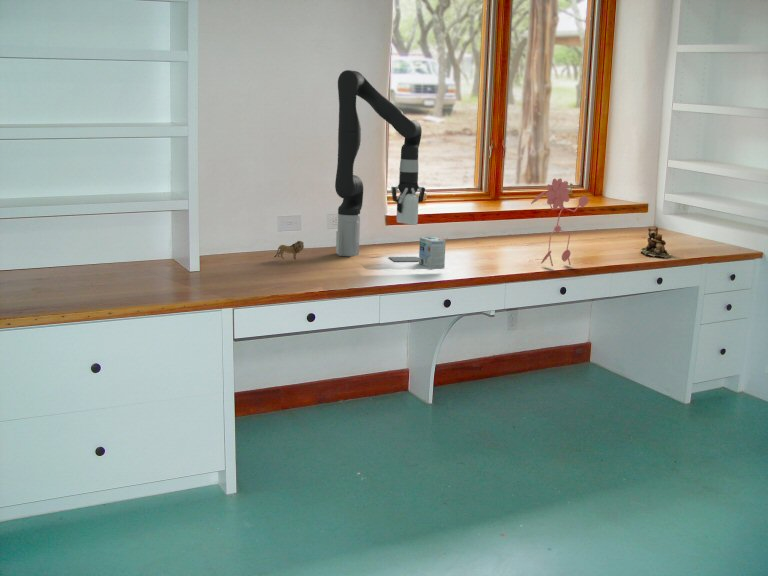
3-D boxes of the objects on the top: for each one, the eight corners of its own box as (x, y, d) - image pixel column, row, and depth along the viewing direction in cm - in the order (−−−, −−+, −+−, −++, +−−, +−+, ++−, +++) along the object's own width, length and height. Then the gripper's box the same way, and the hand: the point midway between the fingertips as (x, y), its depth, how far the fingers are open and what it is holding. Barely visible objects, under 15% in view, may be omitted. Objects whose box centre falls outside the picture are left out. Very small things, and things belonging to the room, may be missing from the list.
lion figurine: (303, 258, 365) (303, 240, 363) (303, 259, 361) (303, 241, 359) (274, 257, 364) (274, 239, 363) (273, 259, 360) (273, 241, 358)
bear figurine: (639, 256, 399) (641, 229, 397) (640, 251, 413) (642, 225, 411) (671, 259, 395) (674, 231, 393) (671, 254, 409) (674, 227, 407)
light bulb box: (418, 263, 361) (419, 236, 359) (433, 262, 364) (434, 236, 362) (429, 268, 352) (431, 240, 349) (445, 267, 354) (446, 240, 352)
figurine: (587, 264, 372) (594, 179, 365) (537, 267, 360) (543, 180, 353) (564, 258, 385) (570, 176, 378) (514, 261, 373) (520, 176, 366)
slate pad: (394, 261, 362) (394, 261, 362) (388, 257, 372) (388, 256, 372) (423, 261, 365) (423, 260, 365) (416, 257, 375) (416, 256, 375)
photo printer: (394, 222, 368) (395, 192, 366) (402, 221, 371) (403, 191, 368) (411, 225, 360) (412, 194, 358) (419, 224, 363) (420, 194, 361)
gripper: (394, 171, 356) (392, 213, 359) (428, 171, 360) (426, 213, 363) (389, 169, 363) (387, 211, 367) (423, 170, 367) (421, 211, 370)
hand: (407, 212), depth 365 cm, fingers closed on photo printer, 5 cm apart
